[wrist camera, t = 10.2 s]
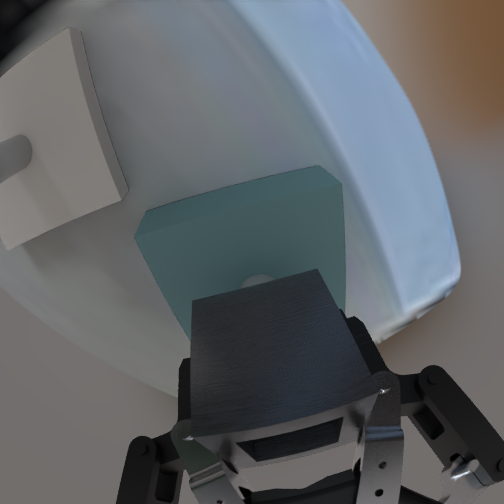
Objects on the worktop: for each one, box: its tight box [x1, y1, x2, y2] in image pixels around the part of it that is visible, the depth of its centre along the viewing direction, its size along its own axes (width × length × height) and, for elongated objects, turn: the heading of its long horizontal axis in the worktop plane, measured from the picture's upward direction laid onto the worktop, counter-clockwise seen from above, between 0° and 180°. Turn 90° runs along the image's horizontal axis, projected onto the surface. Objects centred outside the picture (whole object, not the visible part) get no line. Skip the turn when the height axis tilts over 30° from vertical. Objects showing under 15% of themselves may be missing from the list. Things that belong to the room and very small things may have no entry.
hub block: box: [134, 166, 346, 341], centre depth 14 cm, size 10×10×8 cm
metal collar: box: [190, 269, 379, 469], centre depth 10 cm, size 5×5×6 cm
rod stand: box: [0, 27, 129, 251], centre depth 8 cm, size 10×10×6 cm
